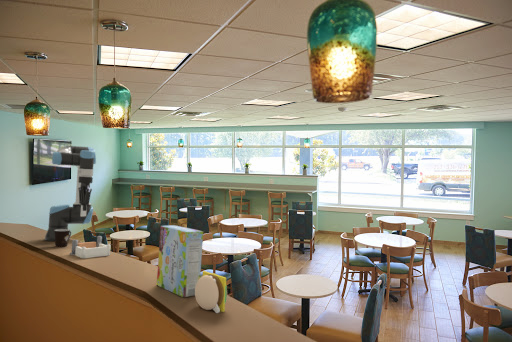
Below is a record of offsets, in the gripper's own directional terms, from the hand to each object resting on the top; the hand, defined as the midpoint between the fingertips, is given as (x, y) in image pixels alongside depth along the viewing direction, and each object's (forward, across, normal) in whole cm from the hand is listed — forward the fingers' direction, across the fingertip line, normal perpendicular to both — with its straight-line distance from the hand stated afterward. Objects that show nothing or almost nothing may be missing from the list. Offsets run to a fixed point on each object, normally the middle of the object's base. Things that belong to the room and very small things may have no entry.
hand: (83, 216), depth 219 cm
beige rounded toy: (+20, +120, -5) cm, 122 cm away
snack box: (+20, +96, -1) cm, 98 cm away
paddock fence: (+20, +12, 0) cm, 24 cm away
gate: (+20, +7, -1) cm, 21 cm away
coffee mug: (+21, -20, -2) cm, 29 cm away
